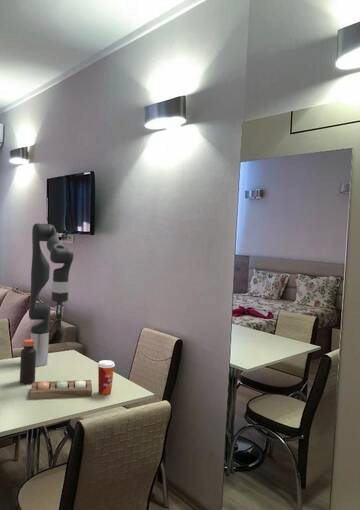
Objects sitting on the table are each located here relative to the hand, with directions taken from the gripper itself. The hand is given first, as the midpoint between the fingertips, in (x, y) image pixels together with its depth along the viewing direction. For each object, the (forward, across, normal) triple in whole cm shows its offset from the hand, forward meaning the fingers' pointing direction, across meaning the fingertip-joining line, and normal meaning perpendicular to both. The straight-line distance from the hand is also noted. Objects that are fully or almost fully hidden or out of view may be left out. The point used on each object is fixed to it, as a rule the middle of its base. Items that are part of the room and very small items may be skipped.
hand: (58, 327), depth 191 cm
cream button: (+27, +11, +11) cm, 31 cm away
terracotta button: (+27, +11, -5) cm, 29 cm away
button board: (+27, +11, +3) cm, 29 cm away
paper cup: (+27, +13, +22) cm, 37 cm away
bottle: (+27, -3, -13) cm, 30 cm away
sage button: (+27, +11, +3) cm, 29 cm away
